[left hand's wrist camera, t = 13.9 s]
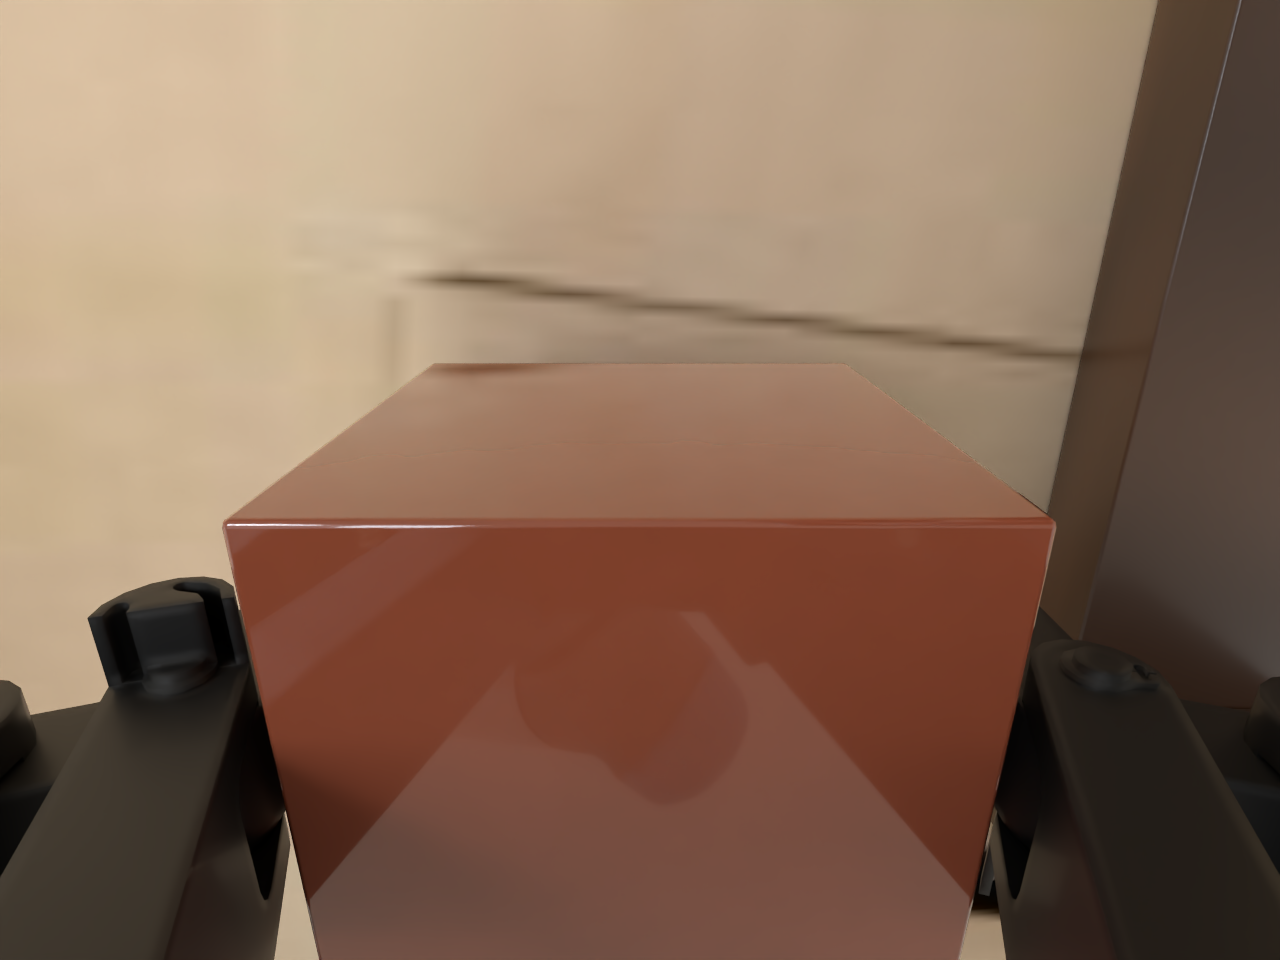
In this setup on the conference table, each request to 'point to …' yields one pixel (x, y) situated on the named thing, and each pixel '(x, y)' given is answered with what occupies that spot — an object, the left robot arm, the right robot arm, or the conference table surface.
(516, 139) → the conference table surface
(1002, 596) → the cap block
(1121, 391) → the walnut stand
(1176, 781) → the left robot arm
